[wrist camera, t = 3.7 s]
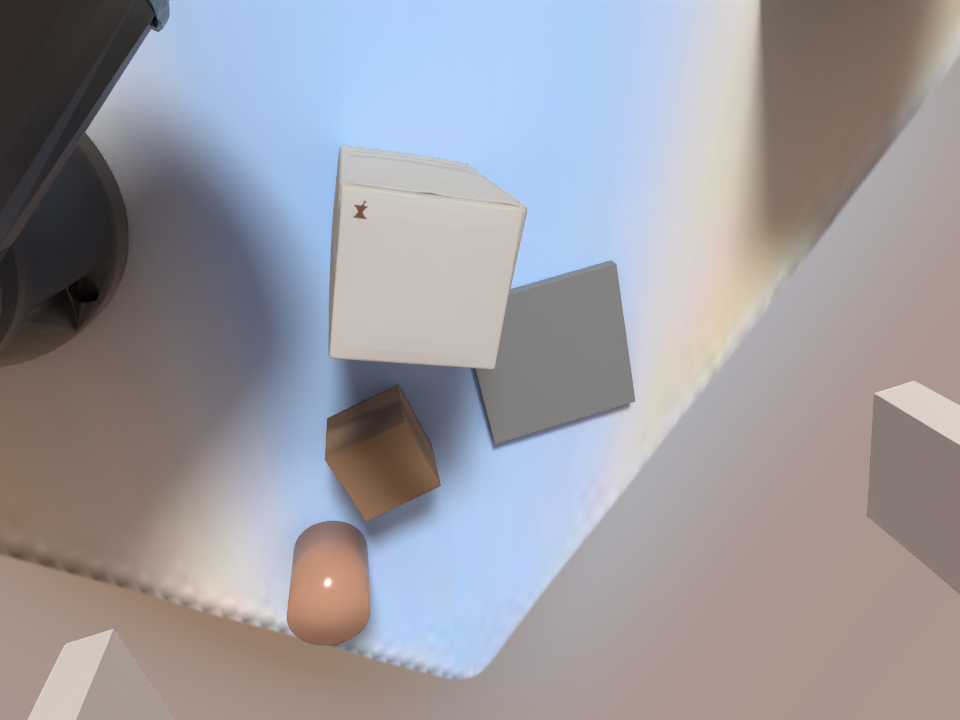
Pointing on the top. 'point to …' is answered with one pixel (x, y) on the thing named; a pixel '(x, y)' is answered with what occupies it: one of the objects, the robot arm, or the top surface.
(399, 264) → the supplement box
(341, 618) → the peach rounded cylinder
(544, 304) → the slate tile
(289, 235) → the top surface
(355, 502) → the walnut block
